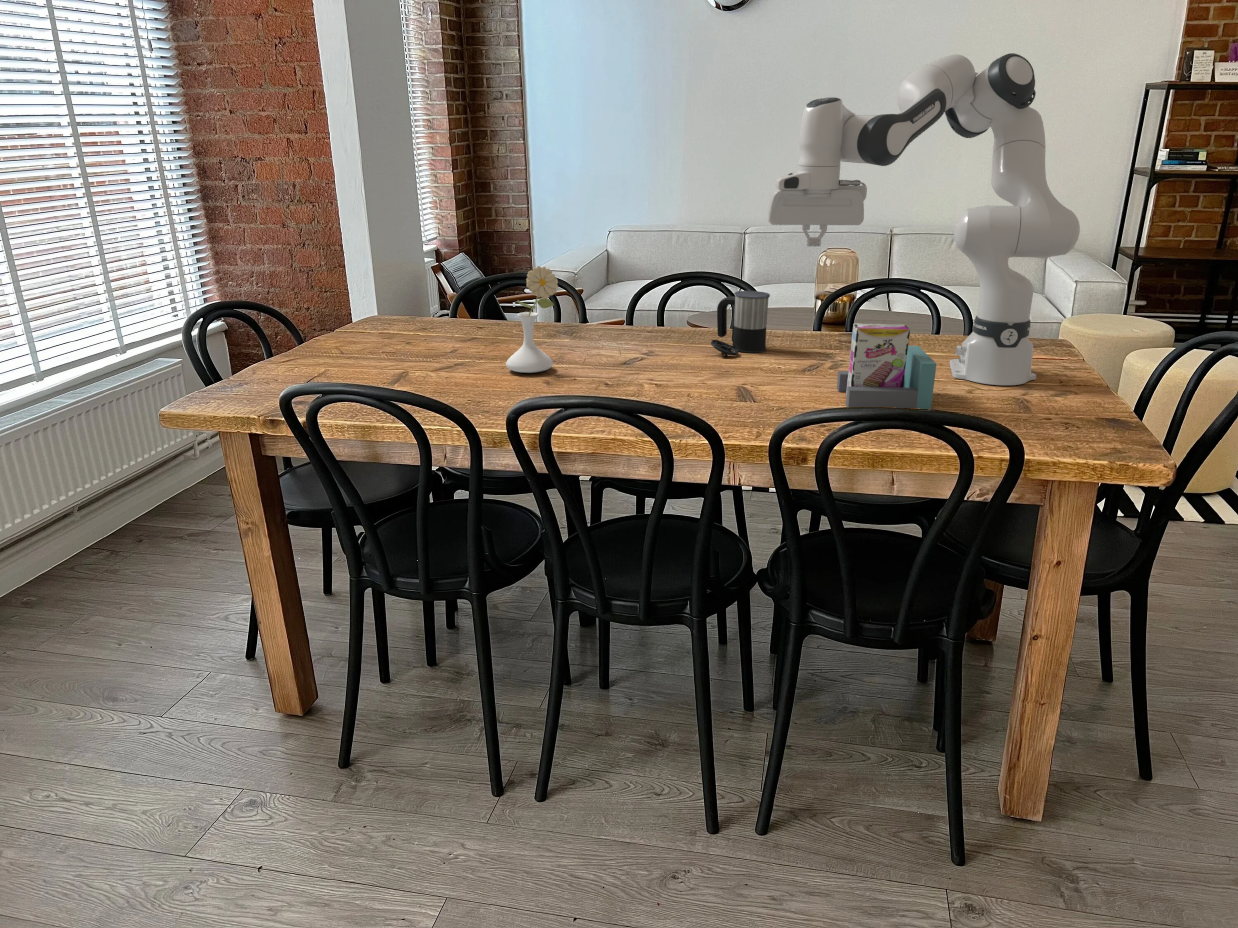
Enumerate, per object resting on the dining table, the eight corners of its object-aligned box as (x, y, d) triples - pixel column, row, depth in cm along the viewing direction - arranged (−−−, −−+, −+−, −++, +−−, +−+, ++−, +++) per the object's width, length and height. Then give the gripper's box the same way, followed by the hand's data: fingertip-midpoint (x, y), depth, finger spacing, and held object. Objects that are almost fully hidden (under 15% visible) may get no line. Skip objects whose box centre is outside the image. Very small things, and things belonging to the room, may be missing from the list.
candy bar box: (849, 403, 196) (856, 327, 190) (845, 397, 200) (851, 322, 195) (902, 404, 195) (911, 328, 189) (897, 397, 200) (905, 323, 194)
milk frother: (767, 346, 246) (770, 291, 241) (765, 360, 232) (768, 301, 226) (714, 344, 249) (716, 289, 244) (708, 357, 234) (710, 299, 229)
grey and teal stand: (836, 388, 207) (840, 344, 204) (913, 389, 206) (918, 345, 202) (848, 408, 192) (852, 362, 189) (930, 410, 191) (936, 363, 187)
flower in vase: (507, 377, 216) (502, 270, 207) (505, 365, 227) (500, 263, 218) (562, 375, 218) (559, 269, 209) (557, 363, 229) (555, 262, 220)
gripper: (865, 179, 197) (859, 244, 202) (769, 179, 199) (765, 244, 204) (870, 181, 191) (864, 248, 196) (771, 181, 193) (767, 248, 198)
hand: (813, 246), depth 200 cm, fingers closed
